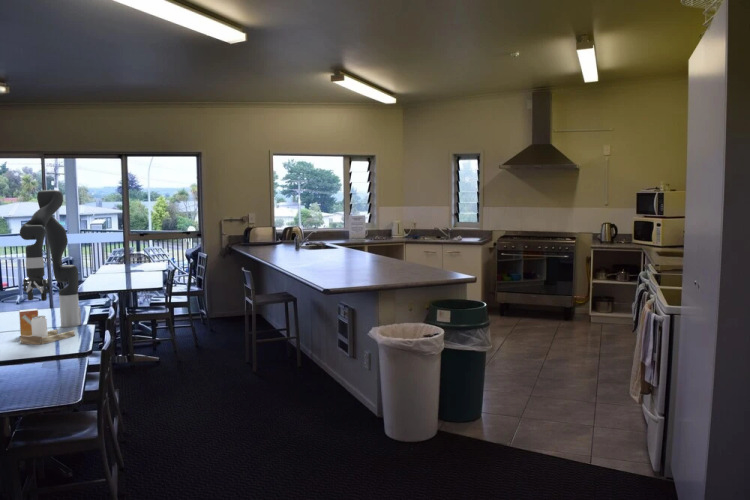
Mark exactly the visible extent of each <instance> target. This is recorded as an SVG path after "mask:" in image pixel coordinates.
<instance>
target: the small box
mask: <svg viewBox="0 0 750 500" xmlns="http://www.w3.org/2000/svg"><path fill="white" fill-rule="evenodd" d="M18 314H19V315H18V316H19V330H20V331H19V333H20V336H22V335H23V336H31V335H32V326H31V320H32V317H35V316H39V311H38V308H29V309H20V310H18Z"/></svg>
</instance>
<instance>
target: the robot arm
mask: <svg viewBox="0 0 750 500" xmlns="http://www.w3.org/2000/svg"><path fill="white" fill-rule="evenodd" d="M36 198H37V199H36V201H37V203H38V207H39V209H38V210H36V211H35V212H34V214H32V217H31V218H30V219H29V220H28V221H27V222H25V223H24V224H23V225H22V226H21V227H20V228H19V229H20V230H19V236H20V238H21V239H22V240H25V241H35V242H34V243H32V244H29V245H26V246H25V269H26V270H25V271H26V277H27V278H23V280H22V281H23V282H22V283H23V284H22V286H23V292H26V293H27V300H28V301H33V300H34V292H33V291H34V289H37V290H39V291H40V298H41V302H44V301H47V299H48V297H47V293H48V292H50V291H51V289H50V287H51V286H50V279H49V278H45V279H44V276H46V274H45V261H44V260H45V259H44V256H43V254H44V253H43V251H44V250H43V248H44V241H45V238H46V240H47V243H48V247H49V250H50V256H51V261H52V269H53V270H52V271H53V276H54V279H55V281H56V282H57V283H68V284H67V286H66V287H64V288H60V289H59V290H58V300H59V301H58V302H59V314H60V315H59V316H60V317H59V318H60V327H61V328H70V327H71V328H72V327H77V326H80V325H82V314H81V311H82V310H81V307H80V303H79V270H78V267H77V266H76V265H74V264H66V265H65V264H64V265H63V262H62V261H63V259H62V257H63V255H64V252H65V250H66V248H67V246H68V243H69V240H68V235H67V231H66V229H65V228H64V226H63V225H62V224H61V223H60V222H59V221H58V220H57V219H56V218H55V217H54V214H56V212H57V211H58V210H59V209H60V208H61V207H62V205H63V202H64V196H63V193H62V192H61V190H58V189H45V190H44V189H43V190H39V191H38V192H37V195H36Z"/></svg>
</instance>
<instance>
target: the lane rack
mask: <svg viewBox="0 0 750 500" xmlns="http://www.w3.org/2000/svg"><path fill="white" fill-rule="evenodd" d="M47 333H48V337H45V338H42V337H38V336H32V335H31V336H23V335H22V336H21V335H19V339H20V344H26V345H38V346H39V345H44V344H45V345H46V344H47V343H53V342H57V341H60V340H64V339H66V338H67V339H68V338H71V337H75V330H69V331H66V332H62V333H59V332H58V329H53V330H47Z"/></svg>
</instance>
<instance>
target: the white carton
mask: <svg viewBox="0 0 750 500" xmlns="http://www.w3.org/2000/svg"><path fill="white" fill-rule="evenodd" d="M47 320H48V319H47V318H46V316H45V315H38V316H35V317H32V320H31V326H32V336H38V337H42V338H45V337H48V333H47V332H48V321H47Z"/></svg>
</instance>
